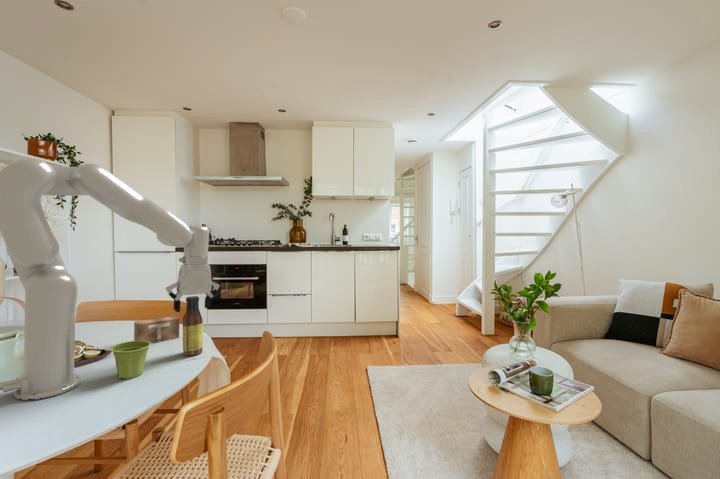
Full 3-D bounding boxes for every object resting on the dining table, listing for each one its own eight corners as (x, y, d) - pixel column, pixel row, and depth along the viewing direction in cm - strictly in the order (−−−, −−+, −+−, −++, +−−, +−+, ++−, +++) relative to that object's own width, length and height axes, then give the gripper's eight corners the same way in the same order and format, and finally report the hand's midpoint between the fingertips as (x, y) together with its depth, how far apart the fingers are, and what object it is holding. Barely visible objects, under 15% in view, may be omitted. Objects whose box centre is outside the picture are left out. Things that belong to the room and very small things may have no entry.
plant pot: (146, 365, 99) (147, 338, 99) (153, 375, 92) (153, 346, 92) (108, 373, 92) (109, 344, 92) (112, 385, 85) (113, 354, 85)
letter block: (136, 346, 114) (137, 324, 114) (133, 342, 118) (134, 321, 118) (179, 338, 124) (179, 318, 124) (175, 335, 128) (176, 315, 128)
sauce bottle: (206, 350, 112) (208, 295, 112) (195, 357, 106) (197, 299, 106) (189, 349, 113) (190, 294, 113) (177, 355, 107) (179, 298, 107)
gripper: (170, 262, 100) (167, 315, 100) (224, 261, 113) (222, 309, 113) (164, 260, 106) (161, 310, 106) (216, 260, 118) (214, 305, 118)
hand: (192, 309), depth 109 cm, fingers open, 9 cm apart
